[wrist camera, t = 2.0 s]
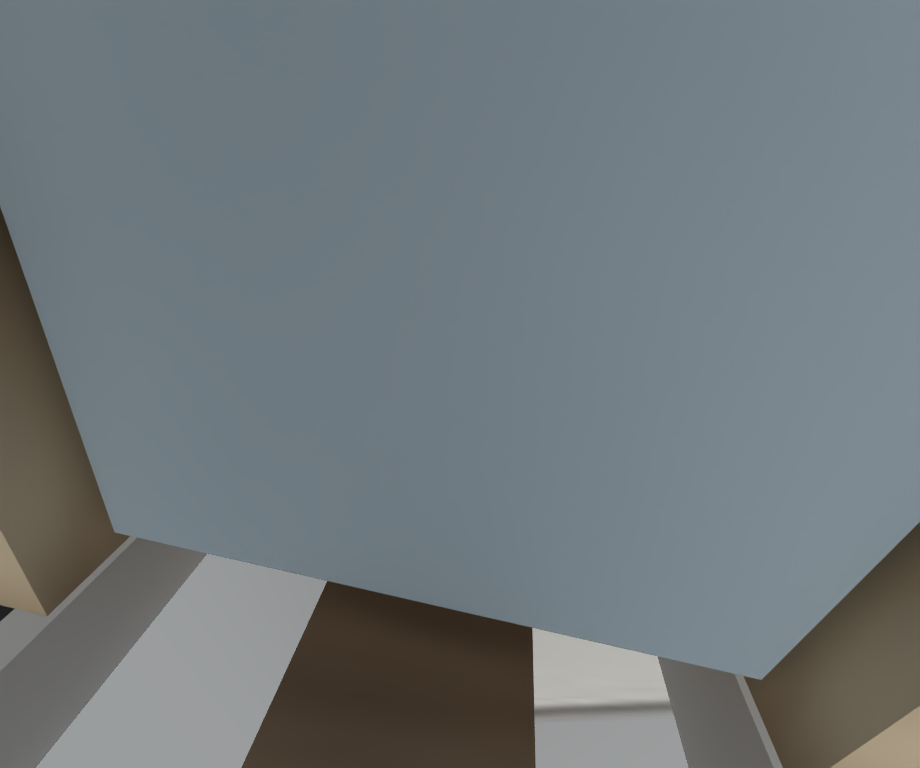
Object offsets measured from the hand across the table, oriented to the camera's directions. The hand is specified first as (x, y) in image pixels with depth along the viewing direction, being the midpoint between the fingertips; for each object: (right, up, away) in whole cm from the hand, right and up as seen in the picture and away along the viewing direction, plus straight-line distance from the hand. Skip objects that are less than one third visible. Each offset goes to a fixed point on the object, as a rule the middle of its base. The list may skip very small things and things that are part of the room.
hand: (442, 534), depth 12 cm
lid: (+2, +11, -11) cm, 15 cm away
